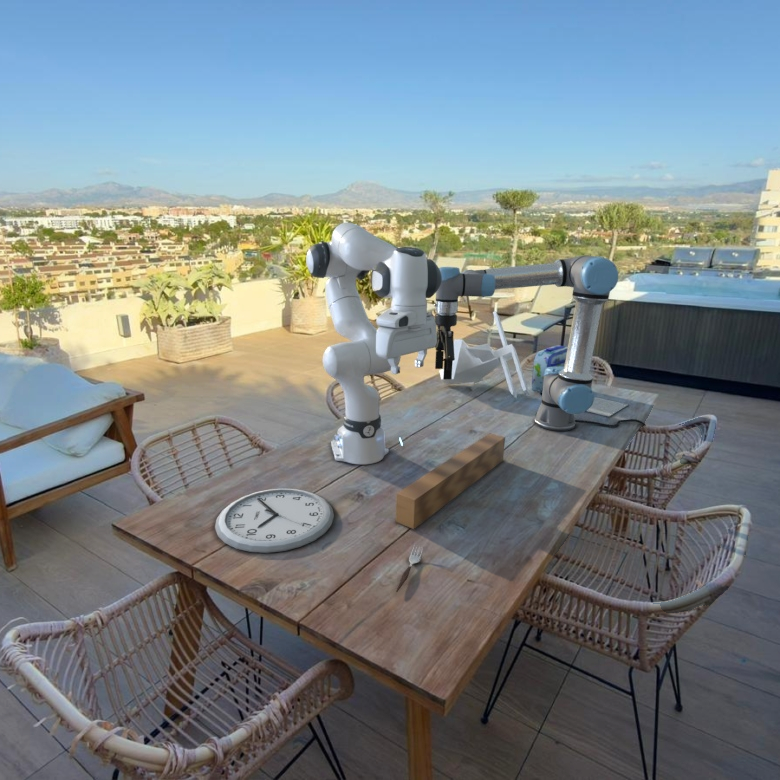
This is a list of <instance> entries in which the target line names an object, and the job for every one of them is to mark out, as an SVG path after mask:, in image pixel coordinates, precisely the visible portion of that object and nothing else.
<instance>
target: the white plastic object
mask: <svg viewBox="0 0 780 780" xmlns="http://www.w3.org/2000/svg"><path fill="white" fill-rule="evenodd" d="M492 315H493V319H494V321H495V324H496V325H495V326H496V328H497V332H498V335H499V338H500V342H501V345H502V347H500V348H498V349H496V350H495V349H493V348H492V347H491V346H490V344H489V343H488V342H487V343H483V344H479V345H473V346H469V345H468V343H466V342H465V340H464V339H463V338H460V339H458V338H453V341H454V358H455V360H453V362H452V379H443V374H444V368H443V369H438V370H439V371H438V372H439V376H440V381H442V383H443V384H444V385H445V386H449V385H458V384H467V383H468V384H469V383H473V384H477V383H480V382H482V381H484V378H485V377H486V376H487V375H489V374H490V373H492V372H494V371H495V370H496V369H497V368H499V367H500V366H502V370H503V373H504V376H505V380H506V383H507V386H508V390H509V393H510V394H511V395H512V397H513V398H514V399H515V400H517V392H516V391H517V390H516V388H515V385H514V381H513V378H512V375H511V371H510V369H509V365H508V361H510V360H513V363H514V366H515V369H516V372H517V376H518V380H519V382H520V385H521V389H522V391H523V393H524V395H525V396H526V397H528V396H531V395H530V390H529V388H528V387H529V386H528V384H527V381H526V378H525V375H524V371H523V369H522V368H523V367H522V366H521V362H520V359H519V355H518V352H517V349H516V347H515V346H514V345H513V343H511V344H508V341H507V337H506V334H505V331H504V328H503V325H502V321H501V318H500V315H499V314H498V312H497V311H496V310H495V311H492Z"/></svg>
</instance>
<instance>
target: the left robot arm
mask: <svg viewBox="0 0 780 780" xmlns="http://www.w3.org/2000/svg"><path fill="white" fill-rule="evenodd" d="M305 261H306V262H305V263H306V264H305V265H306V267H307V270H308V273H309V274H310V275H311V276H312V277H313V278H317V279H324V278H328V279H327V280H326V282H325V285H324V294H325V300H326V304H327V309H328V311H329V315H330V317H331V321H332V324H333V327H334V328H333V329H334V330H335V332H337V334H338V335H339V336H341V337H343V338H346V339H348V340H349V341H341V342H338V343H336V344H332V345H329V346H327V348H326V349H325V350H324V352H323V354H322V366H323V369H324V371H325V372H326V373H327V375H328V376H330V378H333V379H334V380H335V381H336V382H337V383H338V384H339V385H340V387H341V389H342V392H343V396H344V408H345V412H344V417H343V421H342V422H343V423H342V425H341V426H340V427H339V428H338V429H337V434H334V435H333V439H332V440H331V441H330V446H331V450H332V454H333V457H334V461H337V462H344V463H348V464H353V465H372V464H375V463H379V462H381V460H383V459H384V457H385V456H386V455H387V454H389V452H390V450H389V448H388V447H386V437H385V435H386V434H385V430H384V429H383V428H382V417H381V414H380V408H381V407H380V404H381V402H380V401H381V400H380V399H381V397H380V393H379V391H378V390H377V388H375V387H373V386H372V385H370V384H367V383H365V377H366V376H369V375H370V376H371V375H377V374H385V373H387V372H389V371H390V373H391V374H392V375H398V374H400V373H401V366H400V361H401V358H402V357H403V356H406V355H409V354H415V353H417V357H416V359H415V360H414V367H415V368H423V367H424V363H425V362H424V361H425V359H426V356H427V354H428V350H431V349H435V346H436V344H437V325H436V323H435V315H433V313H432V312H428V300H427V299H431V298H432V297H433V296H434V295H436V292H437V290H438V289H439V287H440V285H441V281H442V276H441V272H440V269H439V268H440V267H439V266H438V264H437V263H436V262H435V261H434V260H433V259H431V258H427V254H426V252H425V251H424V250H422V249H420V248H417V247H412V246H401V247H398V246H395V245H393V244H391V243H390V242H387V241H385V240H383V239H381V238H379V237H377V236H376V235H374V234H372V233H371V232H369V231H368V230H367V229H365V228H363V227H362V226H360V225H358V224H355V223H352V222H342V223H340V224H338V225H337V226H336V227H335V228H334V230H333V231H332V234H331V240H330V241H324V240H320V242H318V243H315V244H313V245H311V246H310V247H309V248H308V249H307V251H306V257H305ZM370 272H371V273H370ZM369 273H370V274H371V275H370V283H371V289H372V291H373V292H374V293H375V294H376V295H377V296H378V297H379V298H383V299H391V301H390V302H391V303H390V308H388V309H387V310H385V311H384V312H382V313H381V314H380V315H378V316H377V317H376V319H375V320H376V325H377V326H379V327H377V328H376V327H375V326H374V325H373V324H372V322H371V321H370V319H369V317H368V315H367V312H366V309H365V307H364V303H363V301H362V298H361V296H360V292H359V290H358V287H357V280H358V281H363V280H364V279H365V276H366V275H368V274H369ZM398 440H399V442H400V446H402V447H403V446H404V445H403V441H402V439H401V437H399V439H398Z"/></svg>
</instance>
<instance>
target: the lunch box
mask: <svg viewBox="0 0 780 780" xmlns="http://www.w3.org/2000/svg"><path fill="white" fill-rule="evenodd" d="M567 349H568V346H565V345H553V346H550V347H546V348H545V349H542V350H539V351H538V352H537V353H536V354H535V356H534V358H533V365H532V376H531V377H532V378H531V390H532V391H533V392H537V393H542V391H543V382H544V374H545V369H546V368H548V367H564V366H565V360H566V354H567Z"/></svg>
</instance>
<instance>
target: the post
mask: <svg viewBox="0 0 780 780" xmlns="http://www.w3.org/2000/svg"><path fill="white" fill-rule="evenodd" d="M505 443H506V437H505V436H501V435H498V434H494V433H487V434H486V435H485V436H483V437H482V438H480V439H478V440H476V441H475V442H473V443H471V445H469V446H468V447H466V448H464V449H462V450H461V451H460V452H458V453H457V454H455V455H453V456H452V457H450V458H449V459H447V460H446V461H444V462H443V463H441V464H440V465H438V466H437V467H435V468H434V469H432V470H430V471H429V472H427V473H426V474H424V475H423V476H420V478H418V479H416V480H414V481H413V482H412V483H410V484H409V485H407V486H405V487H404V488H402V489H401V490H399V491H398V492H396V498H395V499H396V500H395V523H397V524H399V525H403V526H404V527H406V528H410V529H412V530H415V529H416V528H417V527H419V526H420V525H421V524H422V523H424V522H425V521H427V520H428V519H429V518H430V517H432V516H433V515H434V514H436V513H437V512H438V511H439V510H441V509H442V508H444V506H446V505H447V504H449V503H450V502H451V501H453V500H454V499H455V498H456V497H458V496H459V495H460V494H461V493H463V492H464V491H465V490H466V489H468V488H470V487H471V486H472V485H473V484H475V483H476V482H477V481H479V480H480V479H481V478H482V477H484V476H485V475H486V474H488V473H489V472H491V470H493V469H495V468H496V467H497V466H499V464H501V463H502V462H504V456H505V454H504V453H505Z"/></svg>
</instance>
